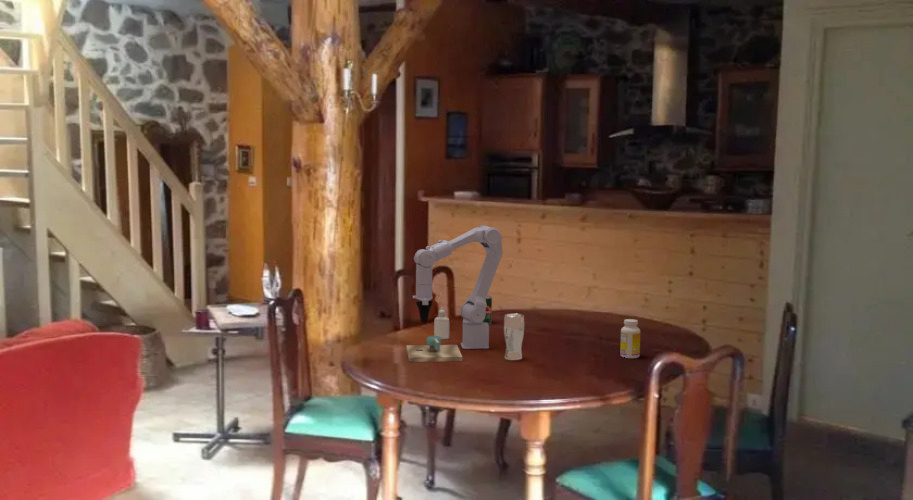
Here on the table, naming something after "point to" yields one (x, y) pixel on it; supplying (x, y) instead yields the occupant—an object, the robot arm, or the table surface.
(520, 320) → the beer glass
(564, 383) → the table surface
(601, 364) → the table surface
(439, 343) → the knob
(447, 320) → the eye dropper bottle
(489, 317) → the canned tomato
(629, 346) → the supplement bottle
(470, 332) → the robot arm
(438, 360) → the post base
